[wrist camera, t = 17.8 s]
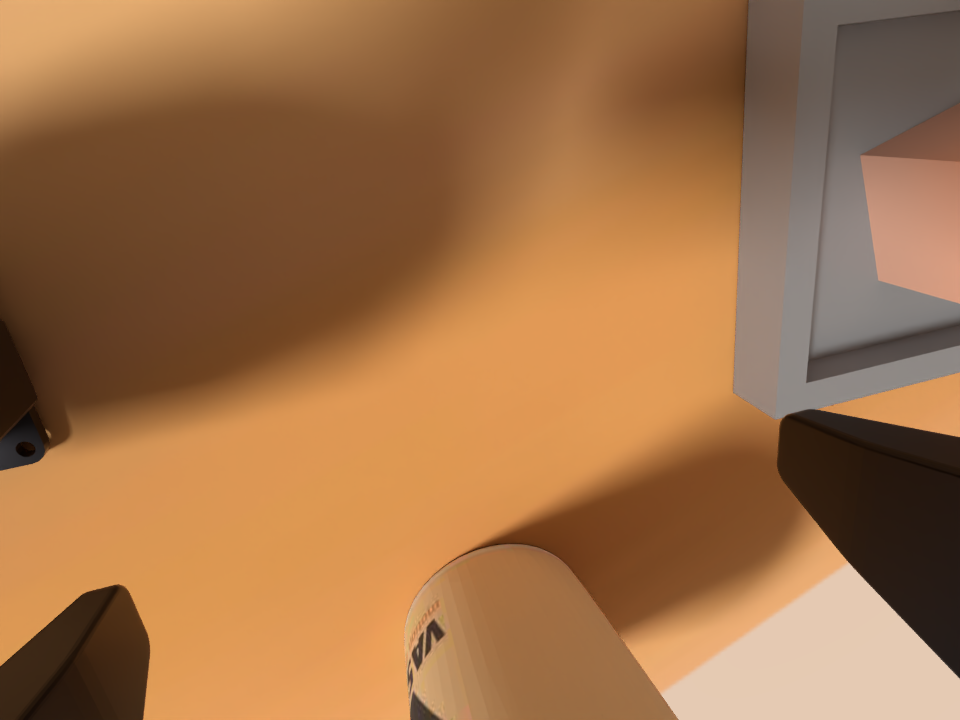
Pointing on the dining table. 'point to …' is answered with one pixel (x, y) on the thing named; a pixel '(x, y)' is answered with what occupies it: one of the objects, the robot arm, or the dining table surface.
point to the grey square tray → (834, 200)
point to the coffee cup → (519, 645)
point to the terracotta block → (917, 206)
